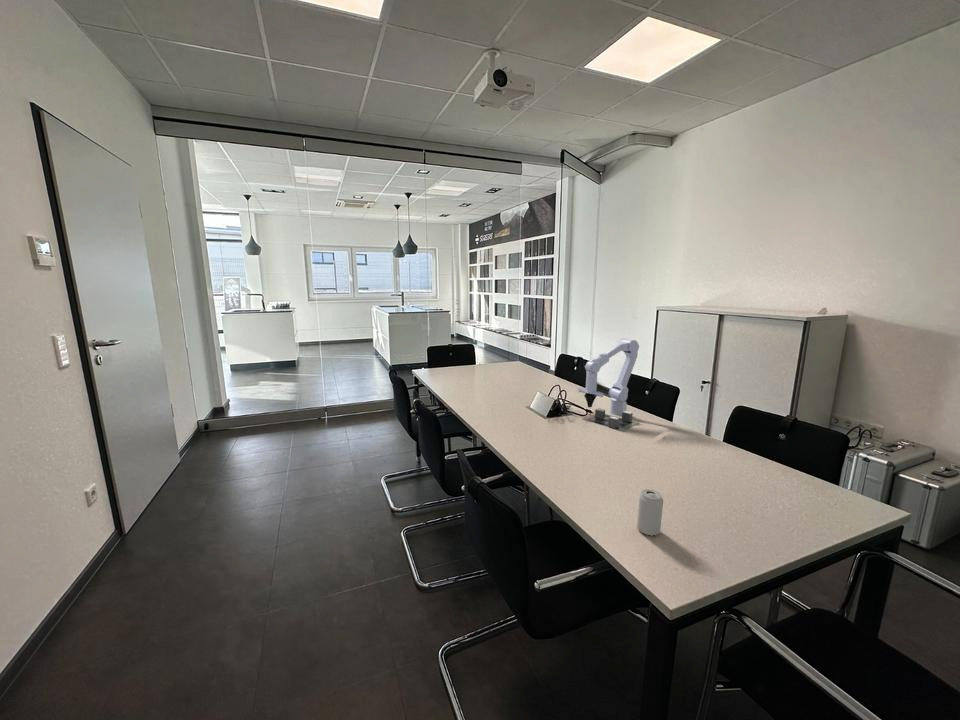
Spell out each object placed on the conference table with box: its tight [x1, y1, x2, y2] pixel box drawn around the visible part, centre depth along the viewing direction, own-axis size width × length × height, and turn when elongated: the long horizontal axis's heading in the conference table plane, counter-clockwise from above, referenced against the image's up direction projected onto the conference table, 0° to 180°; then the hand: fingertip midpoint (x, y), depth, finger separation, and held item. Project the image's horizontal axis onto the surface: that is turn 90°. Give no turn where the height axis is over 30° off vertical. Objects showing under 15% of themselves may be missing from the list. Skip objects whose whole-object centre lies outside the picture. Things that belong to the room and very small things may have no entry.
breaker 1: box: [608, 415, 621, 429], centre depth 202 cm, size 4×4×5 cm
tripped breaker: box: [594, 407, 606, 419], centre depth 215 cm, size 4×4×5 cm
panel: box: [581, 413, 640, 432], centre depth 212 cm, size 18×24×2 cm
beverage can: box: [636, 488, 664, 537], centre depth 117 cm, size 6×6×12 cm
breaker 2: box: [621, 410, 634, 422], centre depth 211 cm, size 4×4×5 cm
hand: (589, 406), depth 219 cm, fingers closed
